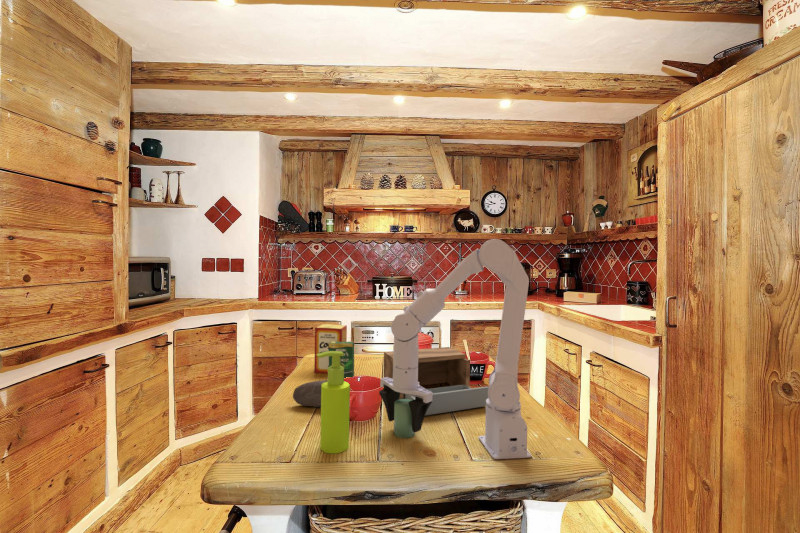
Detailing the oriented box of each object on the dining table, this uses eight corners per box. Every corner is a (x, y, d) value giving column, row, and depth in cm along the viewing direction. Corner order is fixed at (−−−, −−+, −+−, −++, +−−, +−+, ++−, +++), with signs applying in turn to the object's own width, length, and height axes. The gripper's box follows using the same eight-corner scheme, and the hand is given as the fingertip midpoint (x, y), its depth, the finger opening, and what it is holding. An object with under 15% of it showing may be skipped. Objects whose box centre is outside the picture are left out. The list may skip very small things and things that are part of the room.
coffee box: (327, 384, 121) (328, 342, 121) (329, 381, 124) (330, 340, 124) (352, 385, 121) (353, 343, 120) (354, 382, 124) (355, 341, 123)
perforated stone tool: (289, 409, 101) (290, 382, 100) (295, 401, 106) (296, 376, 106) (346, 411, 100) (347, 384, 100) (350, 403, 105) (350, 378, 105)
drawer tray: (488, 405, 104) (489, 387, 104) (419, 416, 96) (419, 396, 96) (466, 392, 114) (467, 375, 114) (402, 401, 106) (402, 383, 106)
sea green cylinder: (416, 437, 86) (417, 406, 86) (395, 438, 85) (395, 407, 85) (413, 428, 90) (413, 398, 90) (392, 429, 90) (393, 399, 90)
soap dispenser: (313, 443, 82) (314, 349, 82) (345, 438, 85) (346, 347, 84) (317, 456, 77) (319, 356, 76) (351, 451, 79) (353, 354, 79)
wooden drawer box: (469, 393, 115) (470, 356, 115) (399, 403, 106) (400, 362, 106) (447, 380, 127) (448, 347, 126) (383, 388, 118) (383, 352, 118)
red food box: (346, 368, 138) (346, 324, 138) (341, 374, 132) (341, 327, 132) (320, 367, 140) (321, 323, 139) (314, 372, 133) (315, 326, 133)
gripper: (441, 369, 85) (440, 430, 86) (395, 356, 95) (394, 411, 96) (420, 375, 80) (419, 440, 80) (374, 361, 90) (373, 419, 91)
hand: (404, 425), depth 88 cm, fingers open, 7 cm apart
